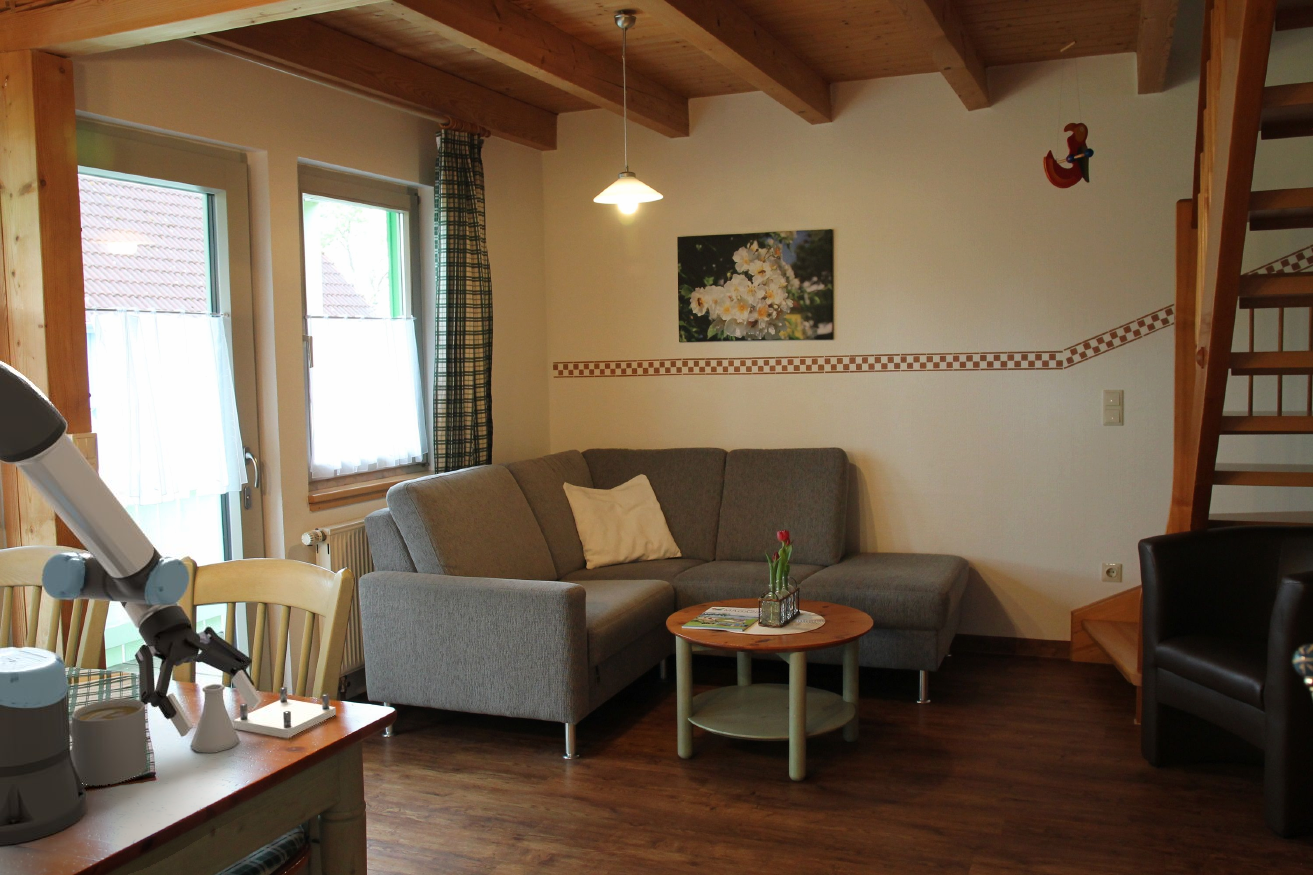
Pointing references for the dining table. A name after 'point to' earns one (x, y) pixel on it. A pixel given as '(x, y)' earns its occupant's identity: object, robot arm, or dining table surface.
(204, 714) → the flask
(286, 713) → the pegs
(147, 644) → the robot arm
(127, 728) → the coffee mug
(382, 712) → the dining table surface
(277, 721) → the plate
